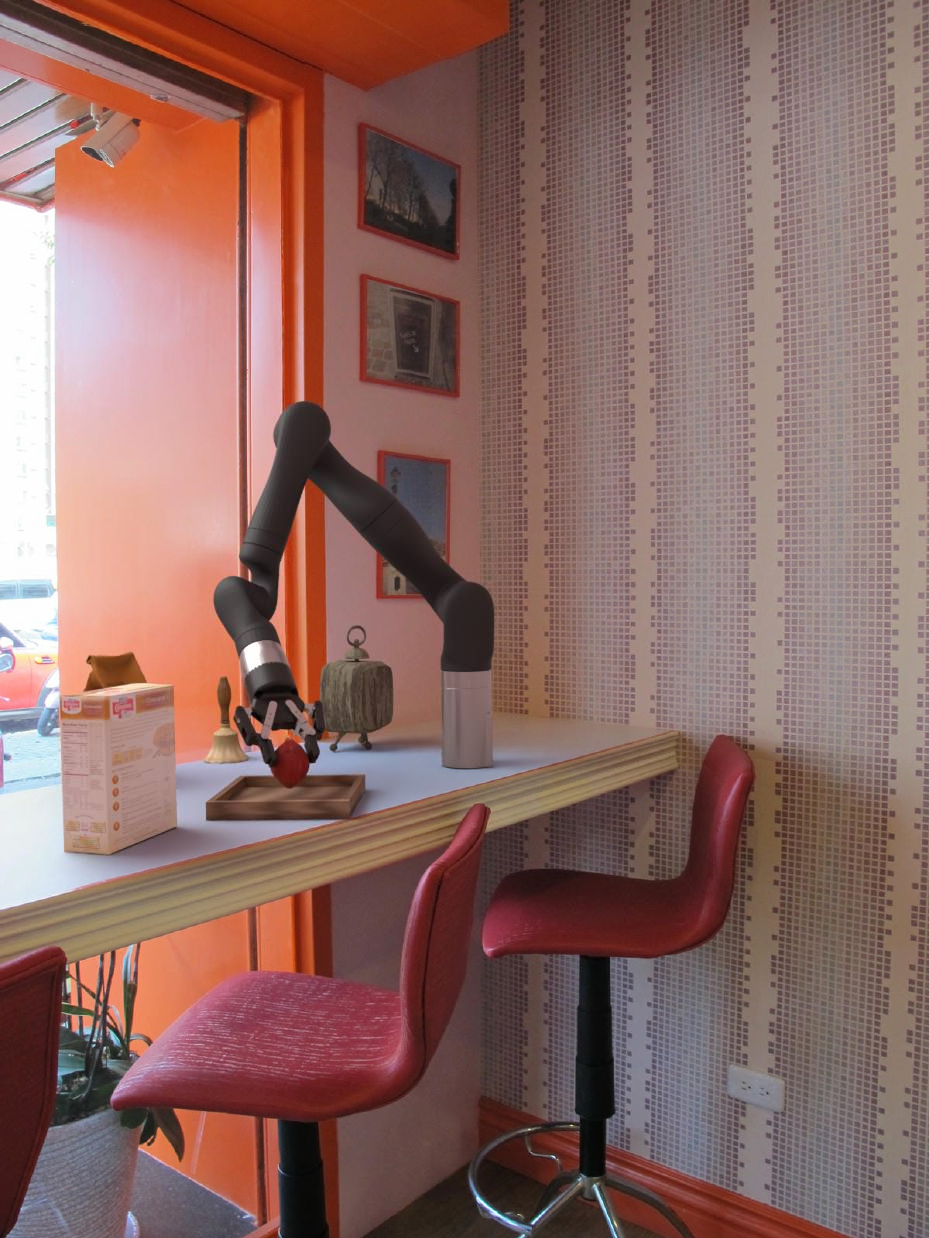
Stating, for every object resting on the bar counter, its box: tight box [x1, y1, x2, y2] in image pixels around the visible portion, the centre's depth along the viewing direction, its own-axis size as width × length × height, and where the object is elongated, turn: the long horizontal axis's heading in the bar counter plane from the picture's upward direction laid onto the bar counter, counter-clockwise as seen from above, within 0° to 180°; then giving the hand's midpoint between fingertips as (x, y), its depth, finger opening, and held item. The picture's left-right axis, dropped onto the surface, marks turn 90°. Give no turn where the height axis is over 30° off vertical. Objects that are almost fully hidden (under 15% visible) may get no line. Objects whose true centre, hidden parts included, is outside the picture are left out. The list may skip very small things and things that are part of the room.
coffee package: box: [82, 650, 148, 692], centre depth 164 cm, size 10×12×22 cm
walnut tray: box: [205, 773, 366, 821], centre depth 146 cm, size 20×20×2 cm
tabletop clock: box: [319, 624, 394, 752], centre depth 198 cm, size 14×9×25 cm, turn 154°
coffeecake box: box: [58, 682, 178, 856], centre depth 126 cm, size 15×7×20 cm, turn 163°
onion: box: [270, 734, 311, 789], centre depth 146 cm, size 6×6×8 cm
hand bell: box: [203, 676, 249, 764], centre depth 186 cm, size 8×8×16 cm
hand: (294, 761), depth 145 cm, fingers closed on onion, 5 cm apart
